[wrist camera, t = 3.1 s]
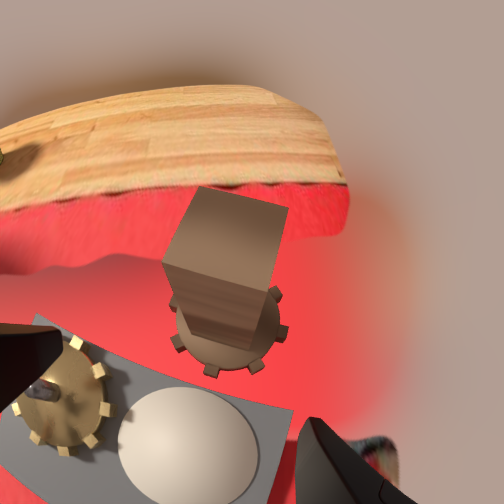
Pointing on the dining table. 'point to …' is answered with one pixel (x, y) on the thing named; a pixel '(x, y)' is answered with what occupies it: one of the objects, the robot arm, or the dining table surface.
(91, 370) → the brass gear
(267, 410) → the gear board
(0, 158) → the plant pot
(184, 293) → the walnut gear
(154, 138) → the dining table surface
